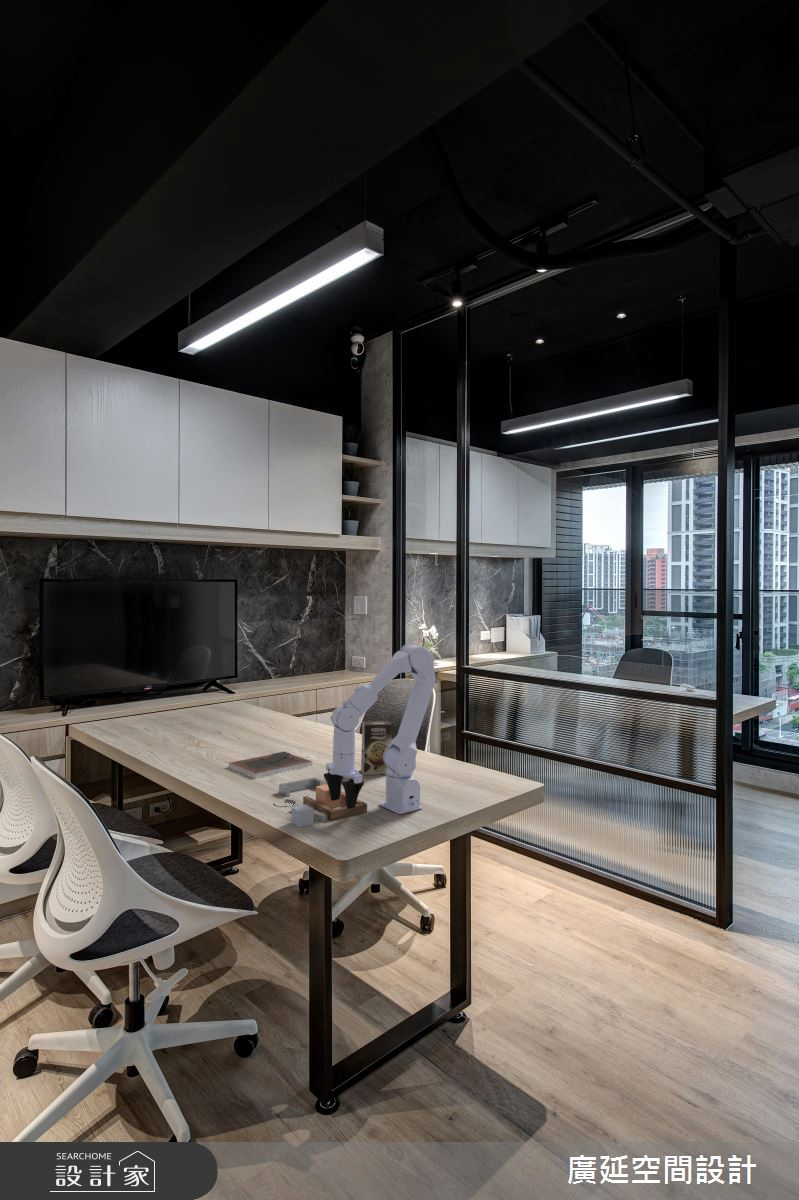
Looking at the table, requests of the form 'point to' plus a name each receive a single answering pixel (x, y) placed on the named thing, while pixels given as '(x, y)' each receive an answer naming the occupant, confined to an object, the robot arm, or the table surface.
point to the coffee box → (375, 746)
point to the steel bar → (317, 814)
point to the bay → (336, 813)
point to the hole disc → (290, 801)
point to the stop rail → (299, 785)
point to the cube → (326, 797)
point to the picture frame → (269, 764)
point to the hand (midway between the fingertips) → (343, 803)
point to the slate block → (302, 815)
